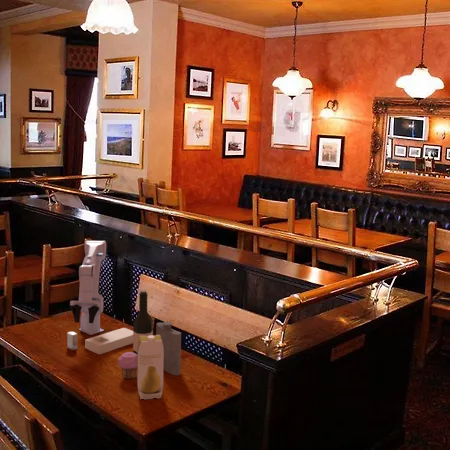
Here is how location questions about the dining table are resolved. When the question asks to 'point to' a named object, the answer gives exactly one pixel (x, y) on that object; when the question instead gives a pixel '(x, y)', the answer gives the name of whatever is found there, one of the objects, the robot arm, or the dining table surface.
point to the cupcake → (128, 364)
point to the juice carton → (150, 366)
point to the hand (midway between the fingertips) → (84, 322)
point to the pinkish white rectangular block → (72, 340)
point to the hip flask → (170, 347)
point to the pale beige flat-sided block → (109, 341)
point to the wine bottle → (142, 321)
